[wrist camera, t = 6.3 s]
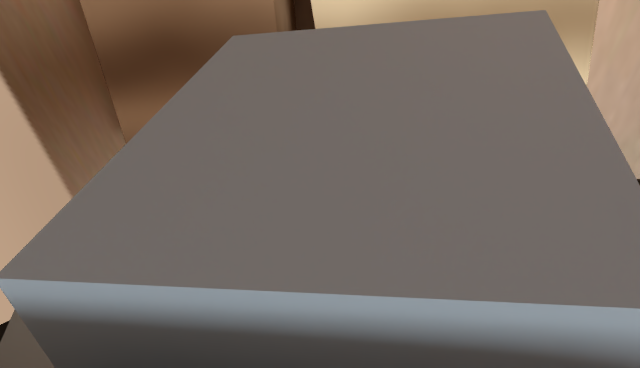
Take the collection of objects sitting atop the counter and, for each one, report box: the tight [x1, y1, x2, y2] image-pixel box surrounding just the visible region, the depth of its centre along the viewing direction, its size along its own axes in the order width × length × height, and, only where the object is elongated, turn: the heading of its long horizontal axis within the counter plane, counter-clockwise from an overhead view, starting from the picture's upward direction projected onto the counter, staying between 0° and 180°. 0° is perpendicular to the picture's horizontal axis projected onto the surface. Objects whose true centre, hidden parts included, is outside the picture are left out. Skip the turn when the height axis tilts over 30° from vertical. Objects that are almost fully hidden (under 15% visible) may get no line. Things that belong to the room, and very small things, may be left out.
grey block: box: [0, 10, 640, 368], centre depth 9 cm, size 6×6×7 cm
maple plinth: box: [311, 0, 599, 86], centre depth 24 cm, size 12×12×4 cm
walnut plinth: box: [80, 0, 296, 144], centre depth 28 cm, size 12×10×4 cm
